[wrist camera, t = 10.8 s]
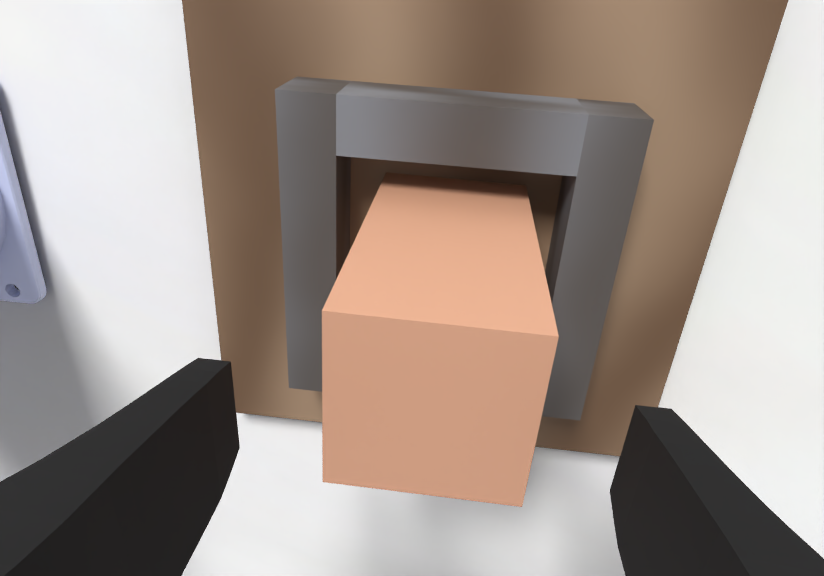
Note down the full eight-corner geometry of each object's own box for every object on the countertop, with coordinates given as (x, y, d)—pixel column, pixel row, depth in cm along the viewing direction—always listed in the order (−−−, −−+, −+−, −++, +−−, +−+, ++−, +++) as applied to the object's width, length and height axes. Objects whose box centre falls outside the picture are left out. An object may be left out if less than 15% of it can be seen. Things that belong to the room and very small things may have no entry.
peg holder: (236, 394, 23) (204, 449, 20) (192, -57, 16) (135, -63, 13) (634, 439, 22) (656, 502, 19) (775, -19, 15) (838, -16, 12)
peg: (380, 294, 19) (322, 482, 12) (386, 172, 17) (321, 310, 10) (505, 307, 19) (522, 507, 12) (526, 185, 17) (558, 336, 10)
